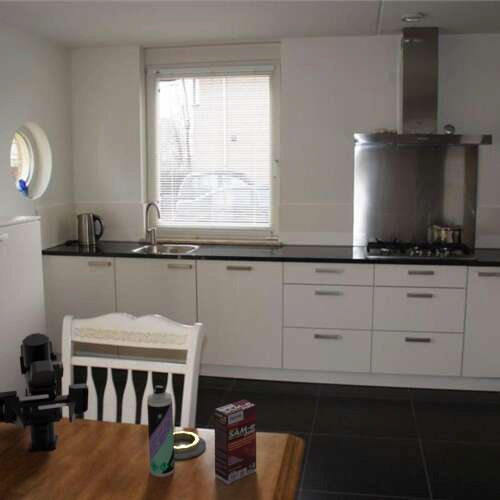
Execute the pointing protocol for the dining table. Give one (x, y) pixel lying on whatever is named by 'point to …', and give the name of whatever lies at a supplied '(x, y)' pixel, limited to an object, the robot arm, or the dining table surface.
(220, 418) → the supplement box
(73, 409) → the robot arm
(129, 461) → the dining table surface
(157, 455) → the spray can
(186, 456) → the dock
